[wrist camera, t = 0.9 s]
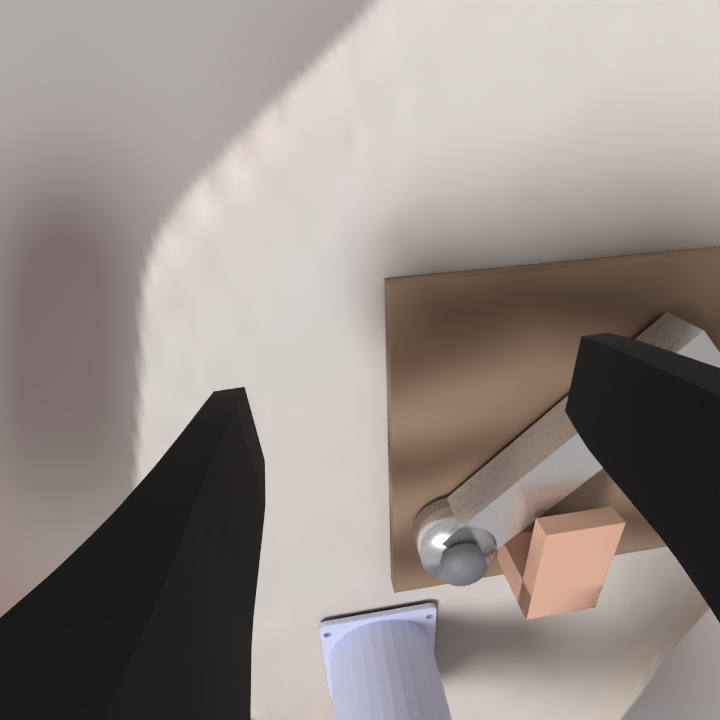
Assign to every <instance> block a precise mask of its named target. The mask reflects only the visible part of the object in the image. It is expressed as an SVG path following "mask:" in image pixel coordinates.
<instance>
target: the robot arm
mask: <svg viewBox="0 0 720 720" xmlns="http://www.w3.org/2000/svg"><path fill="white" fill-rule="evenodd" d="M565 412H566V414H567V415H568V417H569V419H570V421H571V422H572V424H573V426H574V428H575V429H576V431H577V433H578V434H579V436H580V437H581V439H582V440H583V442H584V444H585V445H586V447H587V448H588V450H589V451H590V452H591V454H592V455H593V456H594V457H595V459H596V460H597V461H598V462H599V464H600V465H601V466H602V467H603V468H604V470H605V471H606V472H607V473H608V475H609V476H610V477H611V478H612V480H613V481H614V482H615V483H616V484H617V486H618V487H619V488H620V489H621V490H622V492H623V493H624V494H625V495H626V496H627V498H628V499H629V500H630V501H631V502H632V504H633V505H634V506H635V507H636V508H637V510H638V511H639V512H640V513H641V514H642V516H643V517H644V518H645V519H646V521H647V522H648V523H649V524H650V525H651V527H652V528H653V529H654V530H655V531H656V533H657V534H658V535H659V536H660V537H661V539H662V540H663V541H664V543H665V544H666V545H667V547H668V548H669V549H670V550H671V552H672V553H673V554H674V556H675V557H676V558H677V560H678V561H679V563H680V564H681V566H682V567H683V568H684V570H685V571H686V573H687V574H688V576H689V577H690V579H691V580H692V582H693V583H694V585H695V586H696V588H697V589H698V590H699V592H700V593H701V595H702V596H703V598H704V599H705V601H706V602H707V604H708V605H709V607H710V608H711V610H712V611H713V613H714V614H715V616H716V618H717V619H718V620H719V622H720V368H719V367H716V366H713V365H710V364H707V363H704V362H701V361H698V360H695V359H692V358H689V357H686V356H683V355H680V354H678V353H675V352H672V351H669V350H666V349H663V348H660V347H657V346H654V345H651V344H648V343H645V342H641V341H638V340H635V339H632V338H628V337H625V336H621V335H617V334H613V333H608V332H607V333H601V334H594V335H587V336H581V340H580V344H579V349H578V353H577V358H576V363H575V367H574V372H573V377H572V381H571V386H570V390H569V395H568V400H567V404H566V409H565ZM264 513H265V460H264V457H263V453H262V449H261V446H260V442H259V438H258V435H257V431H256V427H255V424H254V420H253V416H252V413H251V409H250V406H249V402H248V398H247V395H246V391H245V387H241V388H234V389H228V390H221V391H214V392H213V393H212V395H211V396H210V397H209V398H208V400H207V401H206V402H205V403H204V405H203V406H202V407H201V409H200V410H199V411H198V412H197V414H196V415H195V416H194V418H193V419H192V420H191V422H190V423H189V424H188V425H187V427H186V428H185V429H184V431H183V432H182V433H181V434H180V436H179V437H178V438H177V440H176V441H175V442H174V443H173V445H172V446H171V447H170V448H169V449H168V451H167V452H166V453H165V454H164V456H163V457H162V458H161V459H160V461H159V462H158V463H157V464H156V466H155V467H154V468H153V469H152V470H151V471H150V472H149V474H148V475H147V476H146V477H145V478H144V479H143V480H142V482H141V483H140V484H139V485H138V486H137V487H136V488H135V489H134V491H133V492H132V493H131V494H130V495H129V496H128V497H127V498H126V500H125V501H124V502H123V503H122V504H121V505H120V506H119V507H118V509H117V510H116V511H115V512H114V513H113V514H112V515H111V516H110V517H109V518H108V519H107V520H106V521H105V522H104V523H103V524H102V525H101V526H100V527H99V528H98V529H97V530H96V531H95V532H94V533H93V534H92V535H91V536H90V537H89V538H88V539H87V540H86V541H85V542H84V543H83V544H82V545H81V546H80V547H79V548H78V549H77V550H76V551H75V552H74V553H73V554H72V555H71V556H69V557H68V558H67V559H66V560H65V561H64V562H63V563H62V564H61V565H60V566H59V567H58V568H57V569H56V570H55V571H54V572H52V573H51V574H50V575H49V576H48V577H47V578H46V579H45V580H44V581H42V582H41V583H40V584H39V585H38V586H37V587H35V588H34V589H33V590H32V591H31V592H30V593H29V594H27V595H26V596H25V597H24V598H23V599H22V600H20V601H19V602H18V603H17V604H16V605H15V606H13V607H12V608H11V609H10V610H9V611H8V612H7V613H5V614H4V615H3V616H2V617H1V618H0V720H250V704H251V646H252V630H253V615H254V606H255V597H256V588H257V579H258V570H259V560H260V551H261V542H262V533H263V523H264ZM436 615H437V610H436V606H435V604H433V603H425V604H419V605H414V606H408V607H402V608H396V609H391V610H385V611H379V612H374V613H368V614H362V615H357V616H351V617H345V618H339V619H334V620H328V621H324V622H322V623H321V624H320V625H319V633H320V639H321V645H322V651H323V657H324V663H325V669H326V675H327V681H328V687H329V693H330V696H331V697H333V710H334V720H452V718H451V714H450V710H449V707H448V703H447V699H446V696H445V692H444V688H443V685H442V681H441V677H440V674H439V670H438V667H437V663H436V659H435V656H434V646H435V630H436Z"/></svg>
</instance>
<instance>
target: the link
mask: <svg viewBox="0 0 720 720" xmlns="http://www.w3.org/2000/svg"><path fill="white" fill-rule="evenodd" d="M635 340H638V341H641V342H645V343H648V344H651V345H654V346H657V347H660V348H663V349H666V350H669V351H672V352H675V353H678V354H680V355H683V356H686V357H689V358H692V359H695V360H698V361H701V362H704V363H707V364H710V365H713V366H716V367H719V368H720V352H719V351H718V350H717V348H716V347H715V345H714V344H713V342H712V341H711V340H710V338H709V337H708V335H707V334H706V333H705V331H704V330H702V329H700V328H698V327H696V326H694V325H692V324H690V323H688V322H686V321H684V320H682V319H680V318H678V317H676V316H674V315H672V314H670V313H668V312H666V313H665V314H664V315H662V316H661V317H660V318H659V319H658V320H656V321H655V322H654V323H653V324H652V325H651V326H649V327H648V328H647V329H646V330H645V331H643V332H642V333H641V334H640V335H639V336H638V337H636V338H635ZM567 400H568V396H567V397H566V398H564V399H563V400H562V401H561V402H560V403H558V404H557V405H556V406H555V407H554V408H553V409H551V410H550V411H549V412H548V413H547V414H545V415H544V416H543V417H542V418H541V419H540V420H538V421H537V422H536V423H535V424H534V425H532V426H531V427H530V428H529V429H528V430H527V431H525V432H524V433H523V434H522V435H521V436H519V437H518V438H517V439H516V440H515V441H514V442H512V443H511V444H510V445H509V446H508V447H506V448H505V449H504V450H503V451H502V452H501V453H499V454H498V455H497V456H496V457H495V458H494V459H492V460H491V461H490V462H489V463H488V464H486V465H485V466H484V467H483V468H482V469H481V470H479V471H478V472H477V473H476V474H475V475H473V476H472V477H471V478H470V479H469V480H468V481H466V482H465V483H464V484H463V485H462V486H460V487H459V488H458V489H457V490H456V491H455V492H453V493H452V494H451V495H450V496H449V497H447V498H444V499H441V500H438V501H436V502H434V503H432V504H430V505H428V506H427V507H425V508H424V509H423V510H422V511H421V512H420V513H419V514H418V515H417V517H416V518H415V520H414V522H413V526H412V532H413V535H414V539H415V542H416V545H417V549H418V552H419V555H420V558H421V562H422V565H423V568H424V570H425V571H426V572H427V573H428V574H429V575H431V576H433V577H436V578H439V579H445V576H444V573H443V570H442V567H441V564H440V560H441V557H442V555H443V554H444V553H445V552H446V551H447V550H448V549H450V548H451V547H453V546H456V545H459V544H463V543H471V544H475V545H477V546H478V547H479V548H480V549H481V551H482V553H483V555H484V558H485V560H486V562H487V564H488V563H489V562H490V561H491V560H492V558H493V557H494V555H495V553H496V550H497V549H498V548H500V547H501V546H502V545H503V544H505V543H506V542H507V541H509V540H510V539H511V538H513V537H514V536H515V535H517V534H518V533H519V532H520V531H522V530H523V529H524V528H526V527H527V526H528V525H530V524H531V523H532V522H533V521H535V520H536V518H539V517H540V516H541V515H543V514H544V513H545V512H546V511H548V510H549V509H550V508H552V507H553V506H554V505H556V504H557V503H558V502H559V501H561V500H562V499H563V498H565V497H566V496H567V495H569V494H570V493H571V492H573V491H574V490H575V489H576V488H578V487H579V486H580V485H582V484H583V483H584V482H586V481H587V480H588V479H589V478H591V477H592V476H593V475H595V474H596V473H597V472H599V471H600V470H601V469H602V468H603V467H602V466H601V465H600V464H599V462H598V461H597V460H596V459H595V457H594V456H593V455H592V454H591V452H590V451H589V450H588V448H587V447H586V445H585V444H584V442H583V440H582V439H581V437H580V436H579V434H578V433H577V431H576V429H575V428H574V426H573V424H572V422H571V421H570V419H569V417H568V415H567V414H566V412H565V409H566V404H567Z"/></svg>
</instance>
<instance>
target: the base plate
mask: <svg viewBox="0 0 720 720" xmlns="http://www.w3.org/2000/svg"><path fill="white" fill-rule="evenodd" d="M666 312H668V313H670V314H672V315H674V316H676V317H678V318H680V319H682V320H684V321H686V322H688V323H690V324H692V325H694V326H696V327H698V328H700V329H702V330H704V331H705V333H706V334H707V335H708V337H709V338H710V340H711V341H712V342H713V344H714V345H715V347H716V348H717V350H718V351H719V352H720V247H713V248H702V249H692V250H681V251H671V252H660V253H650V254H639V255H629V256H618V257H607V258H597V259H586V260H576V261H565V262H555V263H544V264H534V265H523V266H512V267H502V268H491V269H481V270H470V271H460V272H449V273H439V274H428V275H418V276H407V277H396V278H386V279H385V320H386V366H387V413H388V459H389V506H390V552H391V580H392V585H393V589H394V593H397V592H402V591H408V590H414V589H420V588H426V587H432V586H438V585H443V584H449V583H448V582H447V581H446V579H439V578H436V577H433V576H431V575H429V574H428V573H427V572H426V571H425V570H424V568H423V565H422V562H421V558H420V555H419V552H418V549H417V545H416V542H415V539H414V535H413V532H412V526H413V522H414V520H415V518H416V517H417V515H418V514H419V513H420V512H421V511H422V510H423V509H424V508H425V507H427V506H428V505H430V504H432V503H434V502H436V501H438V500H441V499H444V498H447V497H449V496H450V495H451V494H452V493H453V492H455V491H456V490H457V489H458V488H459V487H460V486H462V485H463V484H464V483H465V482H466V481H468V480H469V479H470V478H471V477H472V476H473V475H475V474H476V473H477V472H478V471H479V470H481V469H482V468H483V467H484V466H485V465H486V464H488V463H489V462H490V461H491V460H492V459H494V458H495V457H496V456H497V455H498V454H499V453H501V452H502V451H503V450H504V449H505V448H506V447H508V446H509V445H510V444H511V443H512V442H514V441H515V440H516V439H517V438H518V437H519V436H521V435H522V434H523V433H524V432H525V431H527V430H528V429H529V428H530V427H531V426H532V425H534V424H535V423H536V422H537V421H538V420H540V419H541V418H542V417H543V416H544V415H545V414H547V413H548V412H549V411H550V410H551V409H553V408H554V407H555V406H556V405H557V404H558V403H560V402H561V401H562V400H563V399H564V398H566V397H567V396H568V395H569V390H570V386H571V381H572V377H573V372H574V367H575V363H576V358H577V353H578V349H579V344H580V340H581V336H587V335H594V334H601V333H607V332H608V333H613V334H617V335H621V336H625V337H628V338H632V339H635V338H636V337H638V336H639V335H640V334H641V333H642V332H643V331H645V330H646V329H647V328H648V327H649V326H651V325H652V324H653V323H654V322H655V321H656V320H658V319H659V318H660V317H661V316H662V315H664V314H665V313H666ZM611 506H612V507H613V508H614V509H615V510H616V511H617V513H618V514H619V515H620V516H621V517H622V518H623V520H624V521H625V522H626V524H625V526H624V529H623V532H622V535H621V537H620V540H619V543H618V546H617V548H616V551H615V554H614V555H619V554H624V553H630V552H636V551H642V550H648V549H654V548H659V547H665V546H667V545H666V544H665V543H664V541H663V540H662V539H661V537H660V536H659V535H658V534H657V533H656V531H655V530H654V529H653V528H652V527H651V525H650V524H649V523H648V522H647V521H646V519H645V518H644V517H643V516H642V514H641V513H640V512H639V511H638V510H637V508H636V507H635V506H634V505H633V504H632V502H631V501H630V500H629V499H628V498H627V496H626V495H625V494H624V493H623V492H622V490H621V489H620V488H619V487H618V486H617V484H616V483H615V482H614V481H613V480H612V478H611V477H610V476H609V475H608V473H607V472H606V471H605V470H604V468H602V469H601V470H600V471H599V472H597V473H596V474H595V475H593V476H592V477H591V478H589V479H588V480H587V481H586V482H584V483H583V484H582V485H580V486H579V487H578V488H576V489H575V490H574V491H573V492H571V493H570V494H569V495H567V496H566V497H565V498H563V499H562V500H561V501H559V502H558V503H557V504H556V505H554V506H553V507H552V508H550V509H549V510H548V511H546V512H545V513H544V514H543V515H541V516H540V517H539V518H542V517H548V516H554V515H561V514H567V513H573V512H580V511H586V510H592V509H599V508H605V507H611ZM534 525H535V521H533V522H532V523H531V524H530V525H528V526H527V527H526V528H524V529H523V530H522V531H520V532H519V533H518V534H521V533H527V532H533V530H534ZM498 549H499V548H498ZM498 549H497V550H496V553H495V555H494V557H493V558H492V560H491V561H490V562H489V563H488V570H487V572H486V574H485V575H484V576H483V577H482V578H484V577H490V576H496V575H502V574H504V572H503V570H502V568H501V566H500V564H499V562H498V560H497V555H498Z"/></svg>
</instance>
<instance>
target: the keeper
mask: <svg viewBox="0 0 720 720" xmlns="http://www.w3.org/2000/svg"><path fill="white" fill-rule="evenodd" d="M625 524H626V522H625V521H624V520H623V518H622V517H621V516H620V515H619V514H618V513H617V511H616V510H615V509H614V508H613V507H612V506H611V507H605V508H599V509H592V510H586V511H580V512H573V513H567V514H561V515H554V516H548V517H542V518H536V520H535V525H534V530H533V532H527V533H521V534H517V535H515V536H514V537H513V538H511V539H510V540H509V541H507V542H506V543H505V544H503V545H502V546H501V547H500V548H499V549H498V555H497V560H498V562H499V564H500V566H501V568H502V570H503V572H504V574H505V576H506V578H507V581H508V583H509V585H510V587H511V589H512V591H513V593H514V595H515V597H516V599H517V601H518V604H519V606H520V608H521V610H522V612H523V614H524V616H525V618H526V620H528V619H533V618H539V617H544V616H550V615H555V614H561V613H566V612H572V611H577V610H582V609H588V608H593V607H595V606H596V603H597V600H598V598H599V595H600V592H601V589H602V587H603V584H604V581H605V578H606V576H607V573H608V570H609V567H610V565H611V562H612V559H613V556H614V554H615V551H616V548H617V546H618V543H619V540H620V537H621V535H622V532H623V529H624V526H625ZM440 564H441V567H442V570H443V573H444V576H445V579H446V581H447V582H448V583H449V584H451V585H454V586H466V585H470V584H472V583H475V582H477V581H478V580H480V579H481V578H482V577H483V576H484V575H485V574H486V572H487V570H488V564H487V562H486V560H485V558H484V555H483V553H482V551H481V549H480V548H479V547H478V546H477V545H475V544H471V543H463V544H459V545H456V546H453V547H451V548H450V549H448V550H447V551H446V552H445V553H444V554H443V555H442V557H441V560H440Z"/></svg>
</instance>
